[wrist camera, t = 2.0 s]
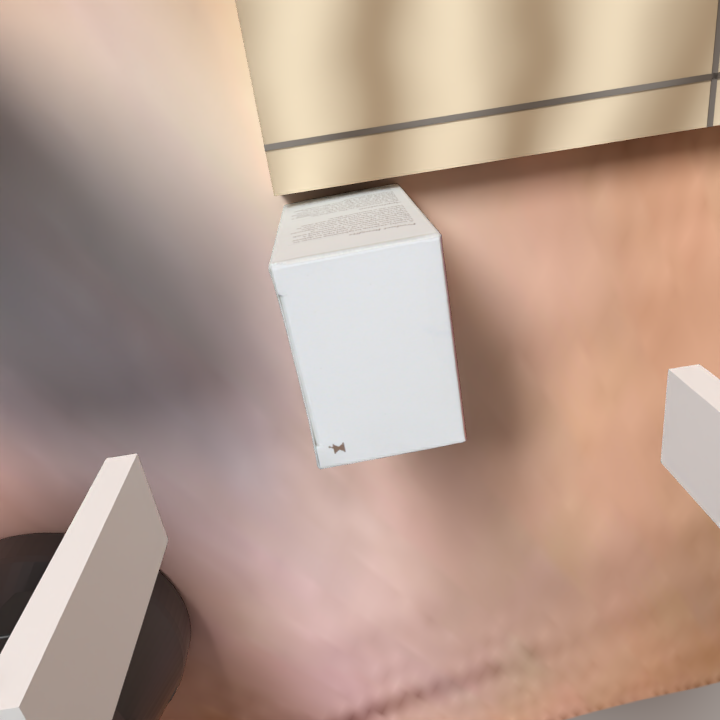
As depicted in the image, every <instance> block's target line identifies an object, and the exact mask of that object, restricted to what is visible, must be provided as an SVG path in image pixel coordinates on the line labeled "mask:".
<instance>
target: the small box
mask: <svg viewBox="0 0 720 720" xmlns="http://www.w3.org/2000/svg"><path fill="white" fill-rule="evenodd" d="M269 272H270V275H271V278H272V281H273V285H274V288H275V291H276V294H277V298H278V301H279V305H280V308H281V312H282V316H283V320H284V323H285V327H286V331H287V335H288V339H289V343H290V347H291V351H292V355H293V359H294V363H295V367H296V371H297V375H298V379H299V383H300V387H301V392H302V396H303V400H304V404H305V408H306V412H307V416H308V420H309V425H310V430H311V435H312V440H313V445H314V450H315V455H316V461H317V466H318V468H319V469H324V468H330V467H335V466H340V465H346V464H352V463H357V462H363V461H368V460H373V459H378V458H384V457H389V456H394V455H400V454H405V453H410V452H416V451H421V450H426V449H432V448H437V447H442V446H447V445H451V444H456V443H462V442H465V441H466V440H467V436H466V428H465V420H464V413H463V405H462V396H461V388H460V380H459V372H458V364H457V356H456V349H455V340H454V332H453V324H452V317H451V309H450V301H449V293H448V285H447V276H446V268H445V261H444V253H443V246H442V235H441V234H440V232H439V231H438V230H437V229H436V228H435V226H434V225H433V224H432V223H431V222H430V221H429V220H428V218H427V217H426V216H425V215H424V214H423V213H422V212H421V210H420V209H419V208H418V207H417V206H416V205H415V203H414V202H413V201H412V200H411V199H410V197H409V196H408V195H407V194H406V193H405V192H404V191H403V189H402V188H401V187H400V186H399V185H398V184H392V185H386V186H380V187H374V188H369V189H363V190H358V191H353V192H347V193H342V194H337V195H332V196H327V197H321V198H316V199H311V200H306V201H301V202H296V203H292V204H287V205H284V207H283V211H282V215H281V220H280V223H279V227H278V231H277V235H276V239H275V243H274V247H273V251H272V254H271V258H270V263H269Z"/></svg>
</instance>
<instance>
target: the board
mask: <svg viewBox="0 0 720 720" xmlns="http://www.w3.org/2000/svg"><path fill="white" fill-rule="evenodd" d="M235 2H236V7H237V12H238V17H239V22H240V27H241V32H242V37H243V42H244V47H245V52H246V57H247V62H248V67H249V72H250V77H251V82H252V87H253V92H254V97H255V102H256V107H257V112H258V117H259V122H260V127H261V132H262V137H263V142H264V148H265V152H266V157H267V162H268V167H269V172H270V177H271V182H272V187H273V192H274V196H279V195H286V194H292V193H298V192H304V191H311V190H317V189H323V188H329V187H336V186H342V185H348V184H354V183H361V182H367V181H373V180H379V179H386V178H392V177H398V176H404V175H411V174H417V173H423V172H429V171H436V170H442V169H448V168H454V167H461V166H467V165H473V164H479V163H486V162H492V161H498V160H504V159H511V158H517V157H523V156H529V155H536V154H542V153H548V152H554V151H561V150H567V149H573V148H579V147H585V146H592V145H598V144H604V143H610V142H617V141H623V140H629V139H635V138H642V137H648V136H654V135H660V134H667V133H673V132H679V131H685V130H692V129H698V128H704V127H712V126H717V125H720V0H235Z"/></svg>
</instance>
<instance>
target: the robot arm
mask: <svg viewBox="0 0 720 720" xmlns="http://www.w3.org/2000/svg"><path fill="white" fill-rule="evenodd" d="M661 463H662V464H663V465H664V466H665V467H666V469H667V470H668V471H669V472H670V473H671V474H672V475H673V476H674V478H675V479H676V480H677V481H678V482H679V483H680V484H681V485H682V486H683V488H684V489H685V490H686V491H687V492H688V493H689V494H690V495H691V497H692V498H693V499H694V500H695V501H696V502H697V503H698V504H699V506H700V507H701V508H702V509H703V510H704V511H705V512H706V513H707V515H708V516H709V517H710V518H711V519H712V520H713V521H714V522H715V523H716V525H717V526H718V527H719V528H720V380H719V379H718V378H717V377H716V376H714V375H713V374H712V373H710V372H709V371H708V370H706V369H705V368H704V367H702V366H701V365H700V364H698V365H692V366H685V367H679V368H673V369H668V379H667V392H666V404H665V416H664V428H663V440H662V452H661ZM167 543H168V538H167V535H166V532H165V529H164V526H163V524H162V521H161V518H160V515H159V512H158V510H157V507H156V504H155V501H154V498H153V496H152V493H151V490H150V487H149V484H148V482H147V479H146V476H145V473H144V471H143V468H142V465H141V462H140V459H139V457H138V454H130V455H124V456H118V457H111V458H106V460H105V462H104V464H103V465H102V467H101V469H100V471H99V473H98V475H97V477H96V478H95V480H94V482H93V484H92V486H91V488H90V489H89V491H88V493H87V495H86V497H85V499H84V501H83V502H82V504H81V506H80V508H79V510H78V512H77V513H76V515H75V517H74V519H73V521H72V523H71V525H70V526H69V528H68V530H67V532H66V534H61V533H35V534H25V535H18V536H13V537H8V538H5V539H1V540H0V720H159V718H160V716H161V715H162V713H163V711H164V709H165V708H166V706H167V704H168V703H169V702H170V700H171V699H172V697H173V696H174V694H175V692H176V690H177V688H178V686H179V684H180V681H181V678H182V676H183V672H184V668H185V663H186V658H187V654H188V649H189V644H190V638H191V627H190V620H189V616H188V612H187V609H186V607H185V605H184V602H183V601H182V599H181V597H180V595H179V594H178V592H177V591H176V589H175V588H174V587H173V585H172V584H171V583H170V582H169V581H168V580H167V579H166V578H165V577H164V576H163V575H162V574H161V573H160V572H159V569H160V565H161V562H162V559H163V556H164V553H165V549H166V546H167Z"/></svg>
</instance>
